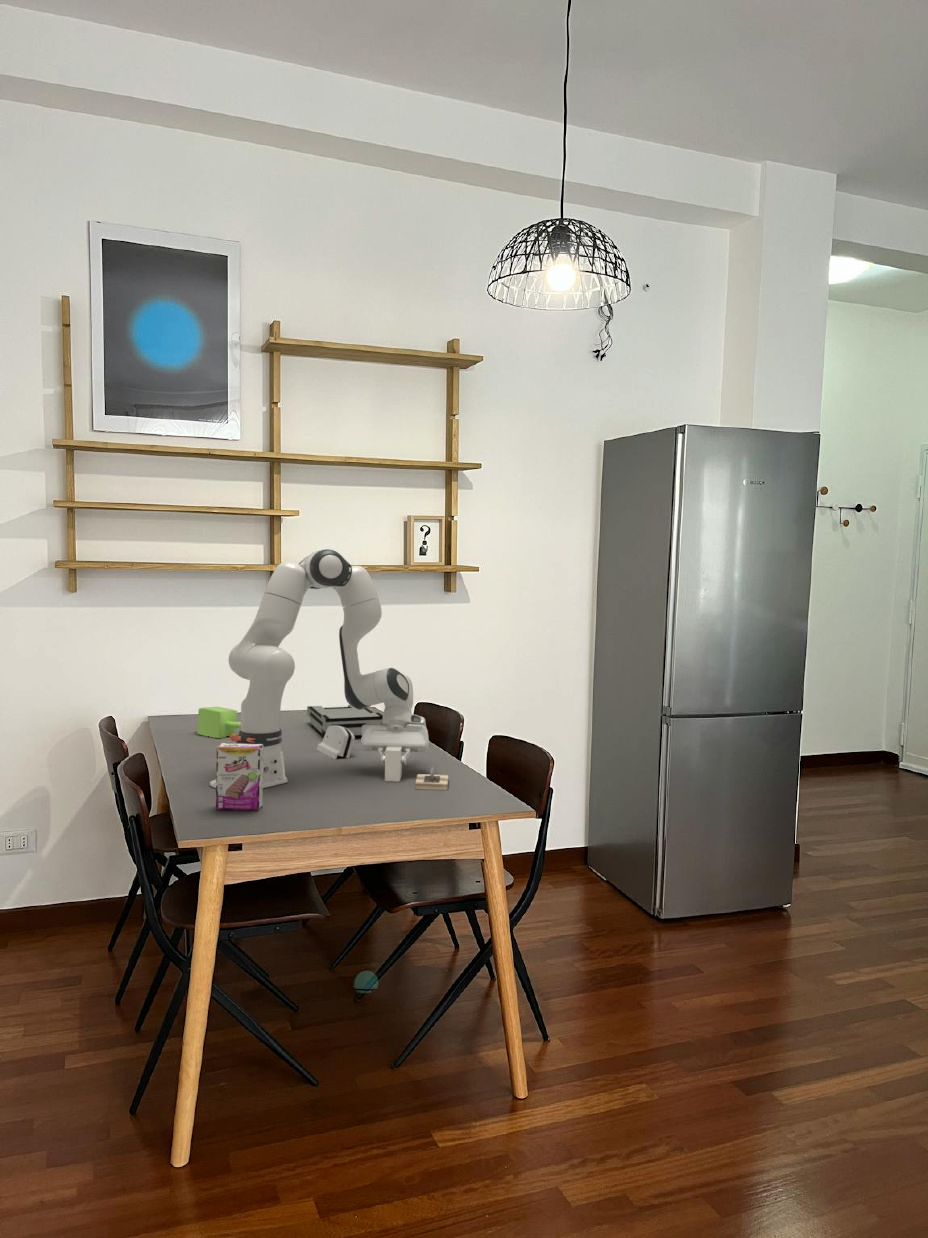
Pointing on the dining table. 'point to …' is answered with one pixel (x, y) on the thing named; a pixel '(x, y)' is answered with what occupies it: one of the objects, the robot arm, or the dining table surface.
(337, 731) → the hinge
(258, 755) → the candy bar box
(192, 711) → the dining table surface
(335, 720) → the office tray
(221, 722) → the gearbox
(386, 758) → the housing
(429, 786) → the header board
